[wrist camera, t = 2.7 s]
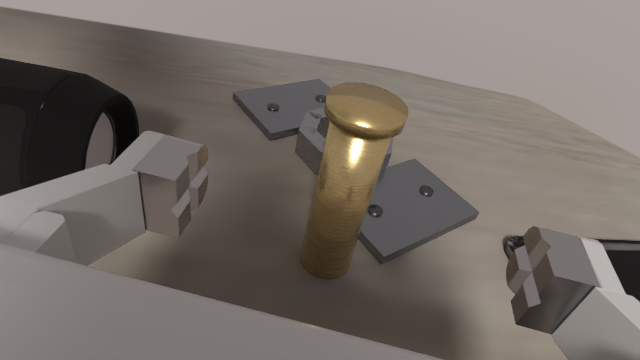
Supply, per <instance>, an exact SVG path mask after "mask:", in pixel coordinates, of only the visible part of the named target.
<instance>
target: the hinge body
mask: <svg viewBox="0 0 640 360" xmlns="http://www.w3.org/2000/svg"><path fill="white" fill-rule="evenodd" d="M330 89H331V88H330V87H328V86H327V85H326V84H325V83H324V82H322V81H321V80H320V79H316V80H309V81H303V82H297V83H290V84H284V85H277V86H271V87H265V88H258V89H252V90H245V91H239V92H234V94H233V99H234V101H235V102H236V103H237V104H238V105H239V106H240V107H241V108H242V109H243V111H244V112H245V113H246V114H247V115H248V116H249V117H250V118H251V119H252V121H253V122H254V123H255V124H256V125H257V126H258V127H259V128H260V129H261V131H262V132H263V133H264V134H265V135H266V136H267V137H268V138H269V139H270V140H274V139H278V138H283V137H287V136H291V135H296V134H298V138H297V144H296V150H295V153H296V154H297V155H298V156H299V157H300V158H301V159H302V160H303V161H304V162H305V163H306V164H307V165H308V167H309V168H310V169H311V170H312V171H313V172H314V173H315V174H316V175H318V174H319V169H320V165H321V160H322V156H323V151H324V146H325V142H326V139H325V137H327V132H328V128H329V123H330V121H329V120H328V118H327V117H326V115H325V112H324V107H325V102H326V97H327V93H328V91H329V90H330ZM392 142H393V137H392V138H391V140H390V143H389V146H388V149H387V152H386V155H385V158H384V161H383V164H382V167H381V170H380V173H379V176H378V179H377V182H376V185H375V188H374V191H373V194H372V197H371V200H370V203H369V206H368V209H367V213H366V216H365V219H364V222H363V225H362V228H361V231H360V234H359V237H358V239H359V240H360V241H361V242H362V243H363V244H364V245H365V246H366V247H367V249H368V250H369V251H370V252H371V253H372V254H373V255H374V256H375V258H376V259H377V260H378V261H379V262H380V263H381V264H382V263H384V262H387V261H389V260H391V259H393V258H395V257H397V256H399V255H401V254H403V253H405V252H407V251H410V250H412V249H414V248H416V247H418V246H420V245H422V244H424V243H426V242H428V241H430V240H432V239H435V238H437V237H439V236H441V235H443V234H445V233H447V232H449V231H451V230H453V229H455V228H458V227H460V226H462V225H464V224H466V223H468V222H470V221H472V220H474V219H476V217H477V215H478V214H479V212H478V211H477V210H476V209H475V208H474V207H472V206H471V205H470V204H469V203H468V202H466V201H465V200H464V199H463V198H462V197H460V196H459V195H458V194H457V193H456V192H454V191H453V190H452V189H451V188H450V187H448V186H447V185H446V184H445V183H444V182H442V181H441V180H440V179H439V178H438V177H436V176H435V175H434V174H433V173H432V172H430V171H429V170H428V169H427V168H426V167H424V166H423V165H422V164H421V163H420V162H418V161H417V160H416V159H412V160H409V161H406V162H403V163H400V164H397V165H394V166H391V167H387V165H388V162H389V159H390V156H391V153H392Z"/></svg>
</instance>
